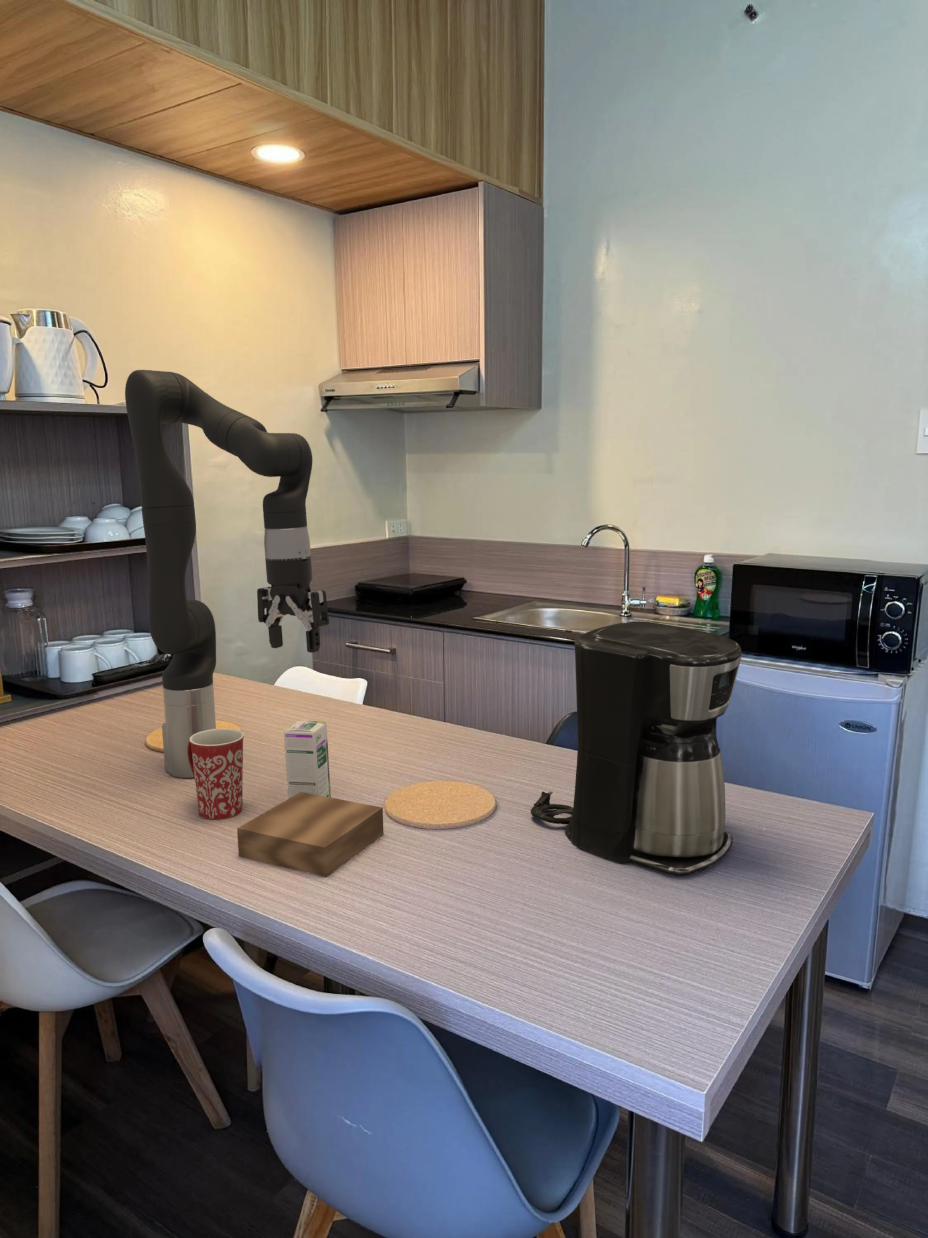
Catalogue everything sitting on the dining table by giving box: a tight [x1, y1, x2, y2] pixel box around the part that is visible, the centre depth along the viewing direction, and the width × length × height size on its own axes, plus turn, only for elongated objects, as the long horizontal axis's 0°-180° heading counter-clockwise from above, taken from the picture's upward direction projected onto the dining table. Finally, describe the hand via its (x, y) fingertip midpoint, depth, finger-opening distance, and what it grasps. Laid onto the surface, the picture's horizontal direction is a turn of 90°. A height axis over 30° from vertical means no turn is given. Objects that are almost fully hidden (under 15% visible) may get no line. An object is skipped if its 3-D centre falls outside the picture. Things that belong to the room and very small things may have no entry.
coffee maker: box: [530, 620, 742, 877], centre depth 133 cm, size 23×32×34 cm
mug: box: [187, 728, 245, 820], centre depth 149 cm, size 13×9×14 cm
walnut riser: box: [236, 792, 384, 878], centre depth 135 cm, size 16×16×5 cm
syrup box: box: [283, 720, 332, 799], centre depth 150 cm, size 6×6×14 cm
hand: (295, 649), depth 147 cm, fingers open, 8 cm apart
